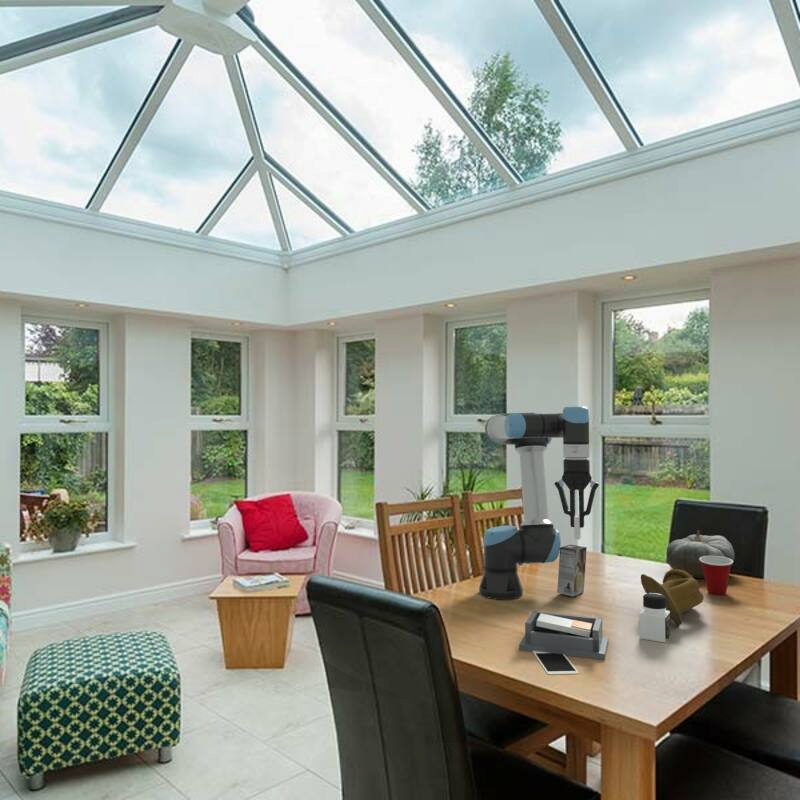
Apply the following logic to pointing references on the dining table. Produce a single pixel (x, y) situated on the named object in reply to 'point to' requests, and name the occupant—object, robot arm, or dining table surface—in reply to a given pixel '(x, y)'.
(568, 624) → the rocker
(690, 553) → the gourd
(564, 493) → the robot arm
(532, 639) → the box
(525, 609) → the dining table surface
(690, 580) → the brown cowboy hat
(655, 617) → the medicine bottle
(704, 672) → the dining table surface
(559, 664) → the cell phone
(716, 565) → the plastic cup
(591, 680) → the dining table surface
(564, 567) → the coffee box
